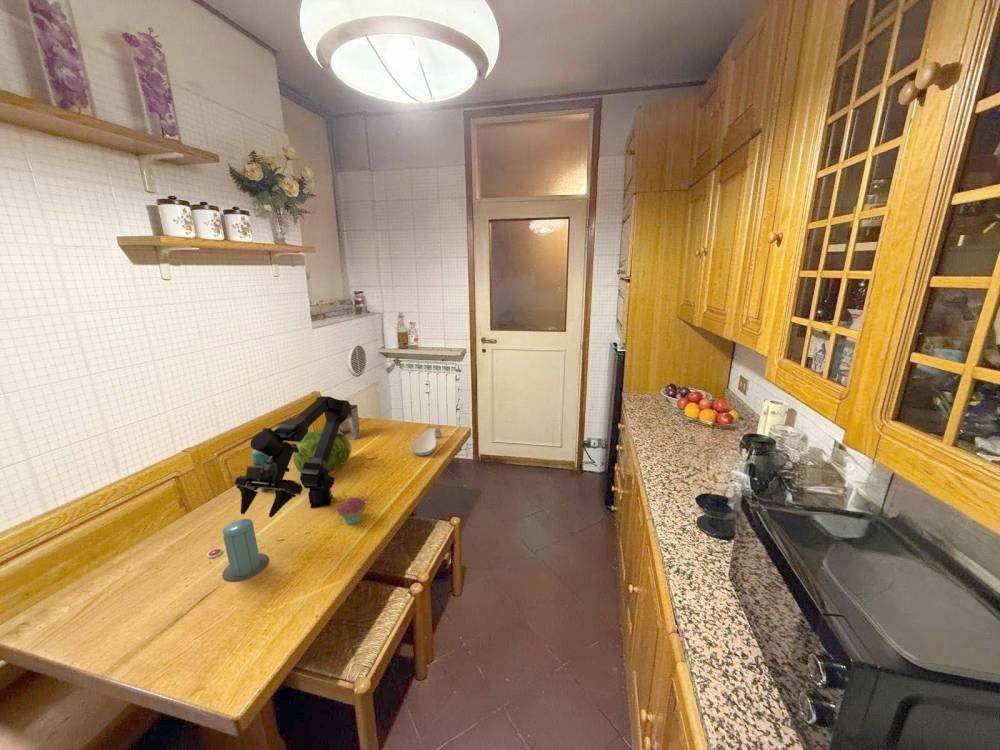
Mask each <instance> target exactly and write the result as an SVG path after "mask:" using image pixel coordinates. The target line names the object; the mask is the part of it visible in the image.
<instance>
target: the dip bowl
mask: <svg viewBox="0 0 1000 750" xmlns="http://www.w3.org/2000/svg"><path fill="white" fill-rule="evenodd" d="M221 554H223V549H222V548H221V547H217V548H213V549H211V550H210V551H208V552H207V554H206V558H207V559H215V558H218V556H220V555H221Z"/></svg>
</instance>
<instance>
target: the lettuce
mask: <svg viewBox="0 0 1000 750" xmlns="http://www.w3.org/2000/svg"><path fill="white" fill-rule="evenodd" d="M323 429H324V428H322V429H318V430H313V431H308V433H307V434H306V436H305V437H304V438H303V439H302V440H301V441H300V442H295V444H296V445H297V448H298V450H299V452H298V453H293V455H292V458H293V462H294V466H295V467H296V469H297V471H298V472H300V473H301V471H302V469H303V466H304V463H305V462H310V461H311V460H312V459H313V457H314V454H315V451H316V448H317V446H318V443H319V440H320V437H321V434H322V432H323ZM351 453H352V444H351V442H350V440H349V439H347V438H346V437H345V436H344V435H343V434H341V433H339V432H338V433H337V436H336V439H335V441H334V444H333V447H332V450H331V453H330V456H329V459H328V466H329V470H330V471H329V473H330V472H332V471H334V470H336V469H337V468H339V467H341V466H342V465H343V464H344V463H346V462H347V461H348V459H349V457H350V455H351Z"/></svg>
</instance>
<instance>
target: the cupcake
mask: <svg viewBox="0 0 1000 750" xmlns="http://www.w3.org/2000/svg"><path fill="white" fill-rule="evenodd" d="M341 489H342V490H341V492H342V494H343V498H344V500H343V501H341V502H340V504H339V505H338V507H337V510H336V511H337V513H338V515H339V516H340V517H342V519H343V520H344V522H345V524H347V525H353V524H356V523H358V522H359V521H360V520H361V517H362V514H363V513H364V512H365V510H366V508H367V506H366V504H367V503H366V502H365V500H364V499H362V498H360V497H349V498H348V497H347V494H346V492H345V489H344V488H343V487H342V488H341Z"/></svg>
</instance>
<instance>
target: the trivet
mask: <svg viewBox="0 0 1000 750" xmlns="http://www.w3.org/2000/svg"><path fill="white" fill-rule="evenodd" d="M259 556H260V563H261V565H260V566H259V567H258V568H257V569H256V570H255V571H253V572H252V573H249V574H246V575H243V576H234V575H232V574H231V569H230V565H229V564H228V565H227V566H226V567H225V568H224V570H223V572H222V576H221V577H222V579H223V580H224V581H225V582H228V583H237V582H239V583H240V582H243V581H246V580H249V579H251V578H253V577H255V576H257V575H259V574H260V573H261V572H263V571H264V570H265V569H266V568H267V566H268V565H269V564H270V563H269V562H270V557H269V556H268V555H267V554H265V553H260V552H259Z"/></svg>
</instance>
